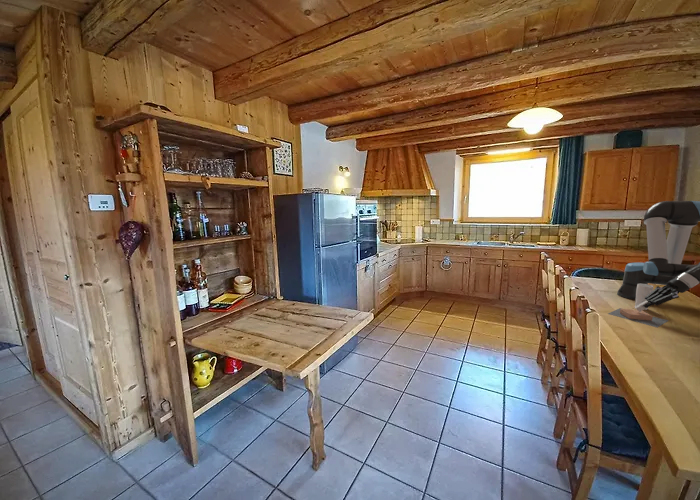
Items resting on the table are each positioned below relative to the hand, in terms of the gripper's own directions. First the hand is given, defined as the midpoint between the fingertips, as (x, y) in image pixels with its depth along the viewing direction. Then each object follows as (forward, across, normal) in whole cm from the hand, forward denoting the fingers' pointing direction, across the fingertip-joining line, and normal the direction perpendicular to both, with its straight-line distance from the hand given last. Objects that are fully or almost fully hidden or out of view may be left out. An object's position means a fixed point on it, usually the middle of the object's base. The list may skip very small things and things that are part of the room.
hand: (637, 309), depth 154 cm
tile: (-1, 0, -5) cm, 6 cm away
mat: (+3, 0, -4) cm, 5 cm away
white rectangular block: (-5, +17, -12) cm, 21 cm away
